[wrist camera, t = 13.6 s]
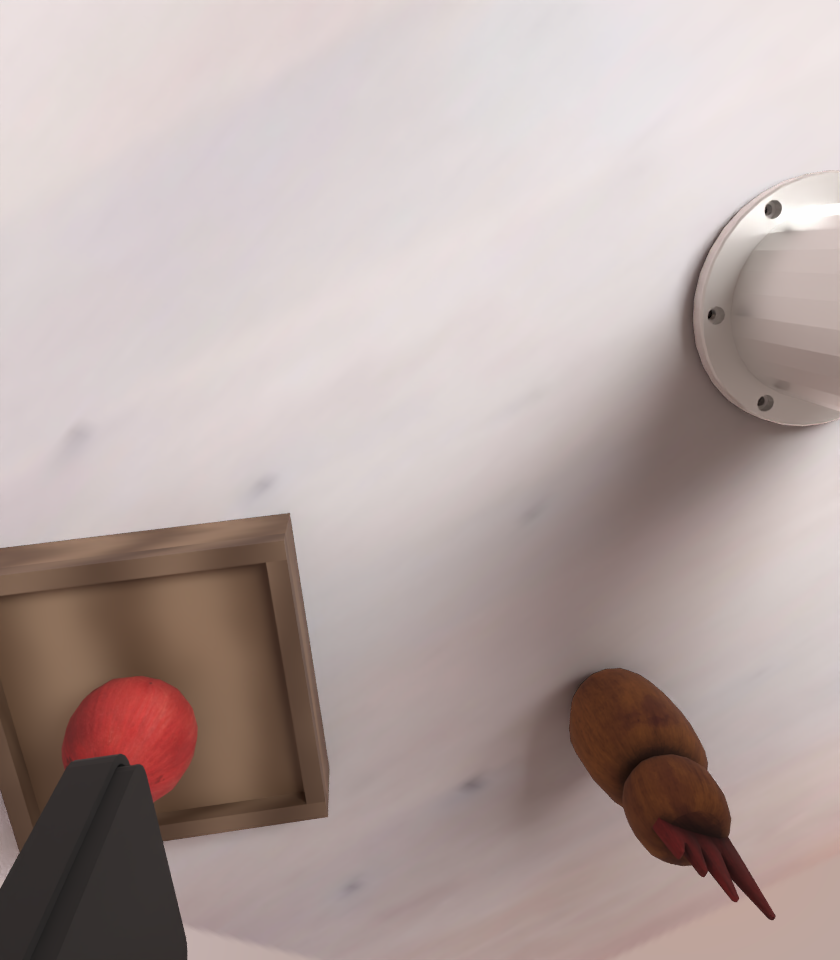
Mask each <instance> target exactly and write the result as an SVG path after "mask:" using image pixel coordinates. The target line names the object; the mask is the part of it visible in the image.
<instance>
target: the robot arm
mask: <svg viewBox="0 0 840 960" xmlns="http://www.w3.org/2000/svg"><path fill="white" fill-rule="evenodd" d="M765 206H766V207H767V210H768V211H767V214H766V215H765V211H764V210H765ZM710 310H711V311H712V317H711V318H710V319H708V313H709V311H710ZM693 327H694V334H695V342H696V347H697V350H698V353H699V356H700V359H701V362H702V365H703V367H704V369H705V370H706V372H707V374H708V376H709V377H710V379H711V381H712V382H713V384H714V385H715V386H716V388H717V389H718V390H719V391H720V392H721V393H722V394H723V395H724V396H725V397H726V398H727V400H729V401H730V402H732V403H733V404H735V405H736V406H737V407H739V408H740V409H742V410H743V411H745V412H747V413H749V414H752V415H754V416H756V417H759V418H761V419H764V420H767V421H771V422H774V423H778V424H781V425H793V426H809V425H817V424H825V423H828V422H831V421H834V420H838V419H840V171H835V170H828V171H822V172H816V173H810V174H805V175H802V176H799V177H795V178H792V179H789V180H786V181H783V182H781V183H779V184H777V185H775V186H773V187H772V188H770V189H768V190H766V191H764V192H762V193H761V194H759V195H758V196H757V197H756V198H754V199H753V200H752V201H750V202H749V203H748V204H747V205H745V206H744V207H743V208H742V209H741V210H740V211H739V212H738V213H737V214H736V215H735V216H734V217H733V218H732V220H731V221H730V222H729V223H728V224H727V225H726V226H725V227H724V229H723V230H722V232H721V233H720V235H719V237H718V238H717V240H716V241H715V243H714V244H713V246H712V248H711V249H710V251H709V253H708V256H707V258H706V260H705V263H704V265H703V268H702V270H701V272H700V276H699V280H698V284H697V288H696V293H695V297H694V311H693ZM759 399H760V402H759V403H758V400H759ZM757 403H758V404H757ZM0 960H187V942H186V936H185V932H184V928H183V924H182V919H181V915H180V911H179V907H178V903H177V899H176V895H175V890H174V886H173V882H172V878H171V874H170V870H169V865H168V861H167V857H166V853H165V849H164V845H163V840H162V836H161V832H160V828H159V824H158V820H157V815H156V811H155V807H154V803H153V799H152V795H151V791H150V786H149V782H148V778H147V774H146V771H145V769H144V767H143V765H141V764H136V765H130V763H129V760H128V759H127V757H126V756H125V755H123V754H115V755H108V756H101V757H94V758H87V759H79V760H74V761H72V762H70V764H69V765H68V766H67V768H66V769H65V771H64V773H63V775H62V776H61V778H60V780H59V782H58V784H57V786H56V787H55V789H54V791H53V793H52V795H51V797H50V798H49V800H48V802H47V804H46V806H45V808H44V809H43V811H42V813H41V815H40V817H39V819H38V820H37V822H36V824H35V826H34V828H33V830H32V831H31V833H30V835H29V837H28V839H27V841H26V842H25V844H24V846H23V848H22V850H21V852H20V853H19V855H18V857H17V859H16V861H15V863H14V864H13V866H12V868H11V870H10V872H9V874H8V875H7V877H6V879H5V881H4V883H3V885H2V886H1V888H0Z"/></svg>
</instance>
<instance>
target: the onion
mask: <svg viewBox="0 0 840 960" xmlns="http://www.w3.org/2000/svg"><path fill="white" fill-rule="evenodd" d="M197 732H198V726H197V722H196V719H195V715H194V711H193V708H192V707H191V705H190V704H189V702H188V701H187V700H186V698H185V697H184V696H183V695H182V693H181V692H180V691H179V690H178V689H177V688H175V687H174V686H172V685H170V684H168V683H166V682H164V681H162V680H160V679H155V678H150V677H145V676H135V677H125V678H117V679H112V680H110V681H108V682H107V683H105V684H103V685H102V686H100V687H98V688H96V689H95V690H93V691H92V692H91V693H90V694H89V695H87V696H86V697H85V698H84V699H83V700H82V702H81V703H80V705H79V706H78V708H77V709H76V710H75V712H74V713H73V715H72V716H71V718H70V720H69V723H68V725H67V728H66V732H65V736H64V740H63V744H62V749H61V750H62V761H63V765H64V770H65V769H66V768H67V766H68V765H69V764H70V762H72V761H74V760H79V759H87V758H94V757H101V756H108V755H115V754H123V755H125V756H126V757H127V759H128V760H129V763H130V765H136V764H141V765H143V767H144V769H145V771H146V774H147V778H148V782H149V786H150V791H151V795H152V799H153V802H155V801H156V800H158V799H159V798H161V797H162V796H164V795H166V794H167V793H168V792H170V791H171V790H173V788H174V787H175V786H176V784H177V783H178V782H179V780H180V779H181V777H182V776H183V774H184V773H185V771H186V770H187V768H188V767H189V765H190V763H191V761H192V758H193V756H194V751H195V746H196V741H197Z"/></svg>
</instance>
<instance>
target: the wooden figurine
mask: <svg viewBox="0 0 840 960" xmlns="http://www.w3.org/2000/svg"><path fill="white" fill-rule="evenodd" d="M569 731H570V739H571V743H572V745H573V747H574V749H575V752H576V754H577V755H578V757H579V758H580V760H581V761H582V763H583V764H584V766H585V767H586V769H587V771H588V772H589V774H590V775H591V777H592V778H593V780H594V781H595V782H596V783H597V784H598V785H599V786H600V787H601V788H602V789H603V790H604V791H605V792H606V793H607V794H608V795H609V797H610V798H611V799H612V800H613V801H614V802H616V803H617V804H619V805H620V806H622V807H623V808H624V811H625V815H626V818H627V820H628V823H629V825H630V827H631V829H632V830H633V832H634V834H635V836H636V837H637V838H638V840H639V841H640V842H641V843H642V845H643V846H644V847H645V848H646V849H647V850H648V851H649V852H650V854H651V855H653V856H655V857H657V858H658V859H660V860H662V861H665V862H667V863H670V864H675V865H680V866H690V865H692V866H693V867H694V869H695V870H696V871H697V872H698V874H699V875H700V876H702V877H705V876H706V874H707V872H708V871H709V872H710V874H711V875H712V876H713V877H714V879H715V880H716V881H717V882H718V884H719V885H720V886H721V887H722V889H723V890H724V891H725V892H726V894H727V895H728V896H729V898H730V899H731V900H732V901H734V902H737V901H738V900H739V896H738V894H737V892H736V889H735V887H734V884H733V882H732V880H733V881H734V882H735V883H736V884H737V886H738V887H739V888H740V889H741V890H742V891H743V892H744V893H745V894H746V895H747V896H748V897H749V898H750V900H751V901H752V902H753V903H754V904H755V905H756V906H757V907H758V908H759V909H760V910H761V911H762V912H763V913H764V915H765V916H766V917H767V918H768V919H770V920H774V918H775V914H774V913H773V911H772V909H771V908H770V906H769V904H768V902H767V901H766V899H765V897H764V896H763V894H762V892H761V891H760V889H759V887H758V886H757V884H756V882H755V880H754V879H753V877H752V875H751V874H750V872H749V870H748V869H747V867H746V865H745V864H744V862H743V860H742V859H741V857H740V855H739V854H738V852H737V851H736V849H735V847H734V846H733V844H732V843H731V841H730V839H729V838H728V835H729V833H730V824H731V816H730V812H729V808H728V805H727V802H726V799H725V796H724V794H723V792H722V791H721V789H720V788H719V786H718V785H717V783H716V782H715V780H714V779H713V778H712V776H711V775H710V774H709V772H708V771H707V767H708V762H707V757H706V753H705V750H704V748H703V746H702V744H701V742H700V740H699V738H698V736H697V735H696V733H695V731H694V729H693V728H692V726H691V724H690V723H689V722H688V720H687V719H686V718H685V716H684V715H683V714H682V712H681V711H680V710H679V709H678V708H677V707H676V706H675V705H674V703H673V702H672V701H671V700H670V699H669V698H668V697H667V696H666V695H665V694H664V693H663V692H662V691H661V690H660V689H658V688H657V687H656V686H655V685H653V684H652V683H651V682H650V681H648V680H647V679H645V678H644V677H642V676H641V675H639V674H636V673H634V672H631V671H628V670H625V669H622V668H614V669H604V670H602V671H599V672H597V673H594V674H592V675H591V676H589V677H588V678H587V679H586V680H585V681H584V682H583V683H582V684H581V685H580V687H579V688H578V690H577V692H576V693H575V695H574V696H573V700H572V704H571V713H570V725H569Z"/></svg>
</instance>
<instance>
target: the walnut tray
mask: <svg viewBox="0 0 840 960" xmlns="http://www.w3.org/2000/svg"><path fill="white" fill-rule="evenodd" d="M135 676H145V677H150V678H155V679H160V680H162V681H164V682H166V683H168V684H170V685H172V686H174V687H175V688H177V689H178V690H179V691H180V692H181V693H182V695H183V696H184V697H185V698H186V700H187V701H188V702H189V704H190V705H191V707H192V708H193V711H194V715H195V719H196V722H197V726H198V732H197V741H196V746H195V751H194V756H193V758H192V761H191V763H190V765H189V767H188V768H187V770H186V771H185V773H184V774H183V776H182V777H181V779H180V780H179V782H178V783H177V784H176V786H175V787H174V788H173V790H171V791H170V792H168V793H167V794H166V795H164V796H162V797H161V798H159V799H158V800H156V801H155V802H153V803H154V807H155V811H156V815H157V820H158V824H159V828H160V832H161V836H162V840H163V841H168V840H175V839H182V838H189V837H195V836H202V835H209V834H216V833H222V832H229V831H236V830H243V829H249V828H256V827H263V826H270V825H276V824H283V823H290V822H297V821H304V820H310V819H317V818H324V817H328V797H329V763H328V757H327V750H326V744H325V737H324V731H323V724H322V718H321V712H320V705H319V699H318V692H317V686H316V679H315V673H314V667H313V660H312V654H311V647H310V641H309V634H308V628H307V621H306V615H305V609H304V602H303V596H302V589H301V583H300V576H299V570H298V563H297V557H296V551H295V544H294V538H293V531H292V525H291V518H290V513H287V514H279V515H271V516H262V517H254V518H246V519H238V520H230V521H221V522H213V523H205V524H197V525H188V526H180V527H172V528H164V529H155V530H147V531H139V532H131V533H122V534H114V535H106V536H98V537H89V538H81V539H73V540H65V541H57V542H48V543H40V544H32V545H24V546H15V547H7V548H0V790H1V793H2V797H3V800H4V803H5V806H6V810H7V813H8V816H9V819H10V822H11V826H12V829H13V832H14V835H15V839H16V842H17V845H18V848H19V851H20V852H21V850H22V848H23V846H24V844H25V842H26V841H27V839H28V837H29V835H30V833H31V831H32V830H33V828H34V826H35V824H36V822H37V820H38V819H39V817H40V815H41V813H42V811H43V809H44V808H45V806H46V804H47V802H48V800H49V798H50V797H51V795H52V793H53V791H54V789H55V787H56V786H57V784H58V782H59V780H60V778H61V776H62V775H63V773H64V771H65V770H64V765H63V761H62V750H61V749H62V744H63V740H64V736H65V732H66V728H67V725H68V723H69V720H70V718H71V716H72V715H73V713H74V712H75V710H76V709H77V708H78V706H79V705H80V703H81V702H82V700H83V699H84V698H85V697H86V696H87V695H89V694H90V693H91V692H92V691H93V690H95V689H96V688H98V687H100V686H102V685H103V684H105V683H107V682H108V681H110V680H112V679H117V678H125V677H135Z"/></svg>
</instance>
